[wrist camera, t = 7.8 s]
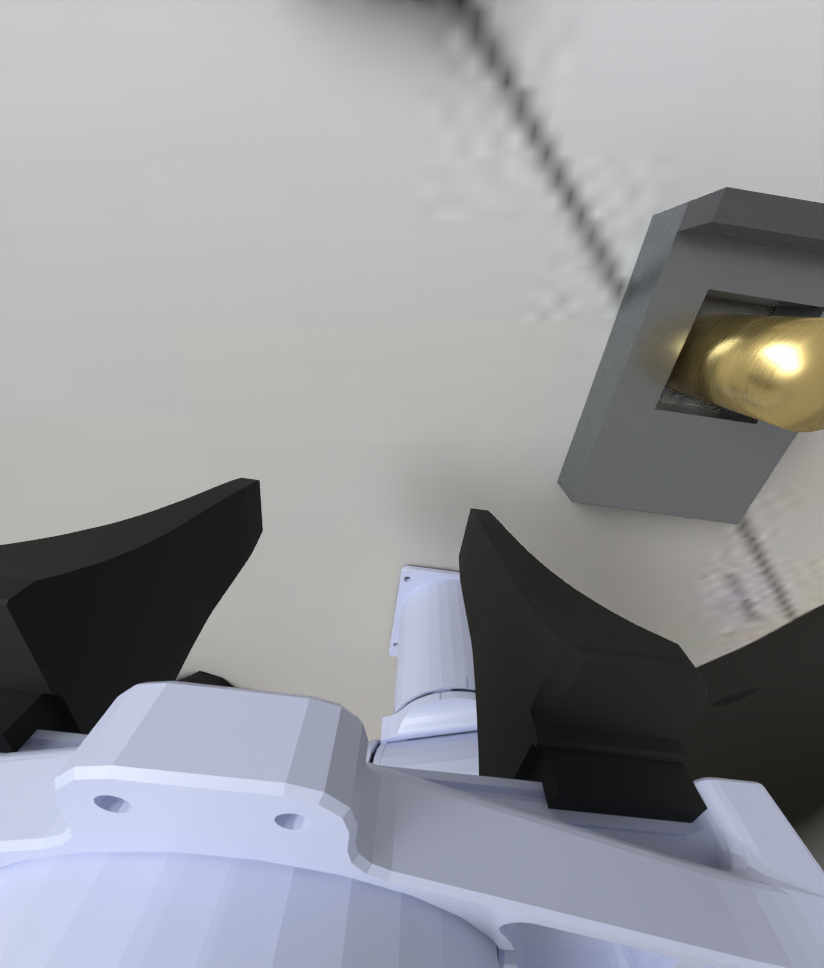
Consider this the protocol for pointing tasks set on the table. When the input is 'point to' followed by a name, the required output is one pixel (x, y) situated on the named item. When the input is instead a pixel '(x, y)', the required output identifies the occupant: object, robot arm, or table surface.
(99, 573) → the robot arm
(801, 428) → the brass cylinder
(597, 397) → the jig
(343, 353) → the table surface
